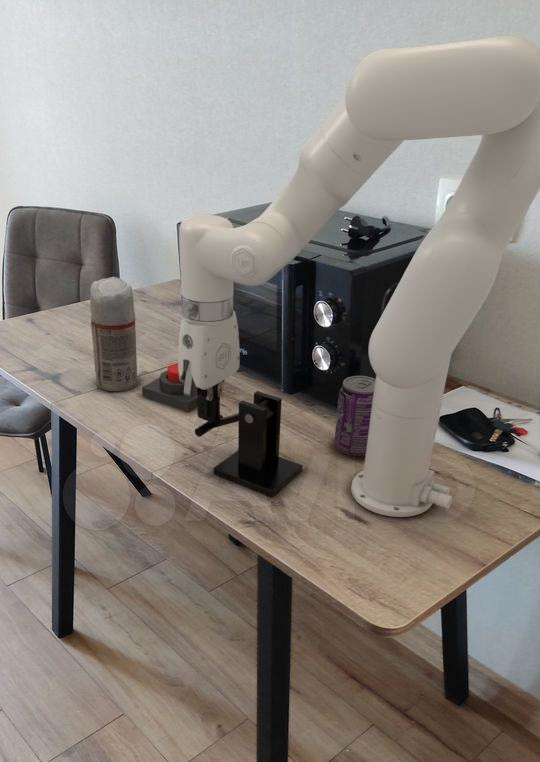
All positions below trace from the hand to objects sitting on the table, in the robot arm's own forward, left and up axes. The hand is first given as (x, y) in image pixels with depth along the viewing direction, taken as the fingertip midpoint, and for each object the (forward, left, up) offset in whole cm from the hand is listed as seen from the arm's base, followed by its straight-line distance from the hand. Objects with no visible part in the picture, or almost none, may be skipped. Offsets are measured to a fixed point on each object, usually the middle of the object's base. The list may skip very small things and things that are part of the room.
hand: (208, 418), depth 112 cm
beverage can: (-19, -16, -7) cm, 26 cm away
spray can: (+30, -11, -7) cm, 33 cm away
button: (+17, -14, -3) cm, 23 cm away
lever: (-6, 0, +1) cm, 6 cm away
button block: (+17, -14, -7) cm, 23 cm away
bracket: (-10, 0, -7) cm, 12 cm away
